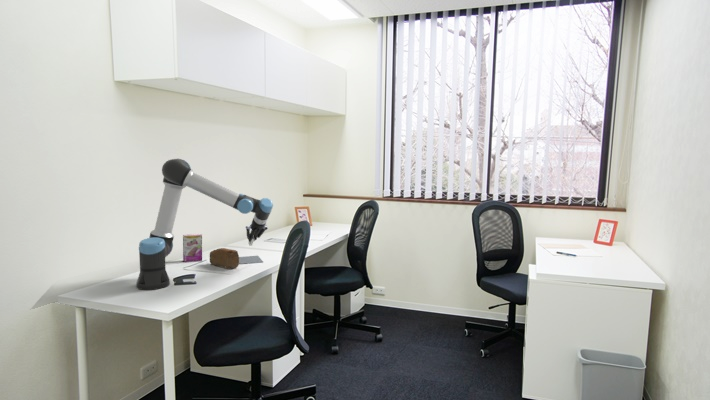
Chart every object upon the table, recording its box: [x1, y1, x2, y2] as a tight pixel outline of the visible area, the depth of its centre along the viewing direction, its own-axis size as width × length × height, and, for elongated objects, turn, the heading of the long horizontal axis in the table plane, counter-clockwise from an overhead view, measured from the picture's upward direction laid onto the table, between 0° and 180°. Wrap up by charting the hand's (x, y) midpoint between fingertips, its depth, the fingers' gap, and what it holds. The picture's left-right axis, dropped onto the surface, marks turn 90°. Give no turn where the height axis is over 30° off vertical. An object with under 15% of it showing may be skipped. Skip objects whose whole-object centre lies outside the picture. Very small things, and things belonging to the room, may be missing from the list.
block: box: [209, 247, 240, 269], centre depth 258 cm, size 11×8×20 cm
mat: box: [239, 255, 264, 265], centre depth 273 cm, size 20×18×1 cm
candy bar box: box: [182, 233, 203, 263], centre depth 270 cm, size 11×5×16 cm, turn 111°
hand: (250, 243), depth 261 cm, fingers closed
